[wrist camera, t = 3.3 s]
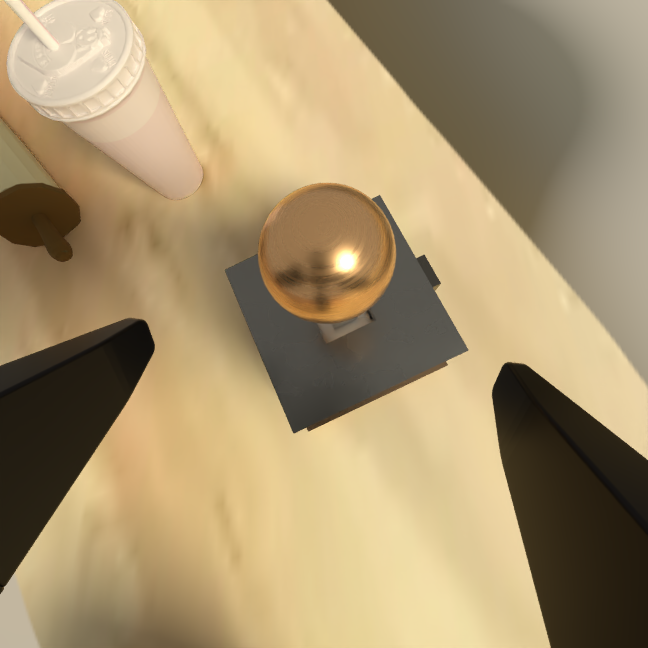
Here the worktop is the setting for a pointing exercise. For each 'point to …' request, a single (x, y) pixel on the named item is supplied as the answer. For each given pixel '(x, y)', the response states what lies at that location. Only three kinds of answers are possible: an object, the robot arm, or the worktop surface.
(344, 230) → the copper ball knob
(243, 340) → the worktop surface
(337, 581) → the worktop surface
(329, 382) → the copper ball lever box
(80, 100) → the smoothie
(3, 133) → the rolling pin
